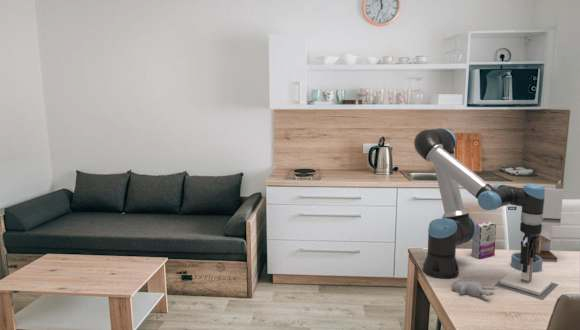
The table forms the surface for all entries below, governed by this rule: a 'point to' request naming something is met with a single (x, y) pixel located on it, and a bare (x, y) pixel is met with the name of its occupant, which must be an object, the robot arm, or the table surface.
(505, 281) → the cream lid
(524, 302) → the table surface
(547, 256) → the display case
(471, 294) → the bunny figurine
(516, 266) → the slate bowl
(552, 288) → the rubber mat
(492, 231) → the candy bar box
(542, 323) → the table surface
